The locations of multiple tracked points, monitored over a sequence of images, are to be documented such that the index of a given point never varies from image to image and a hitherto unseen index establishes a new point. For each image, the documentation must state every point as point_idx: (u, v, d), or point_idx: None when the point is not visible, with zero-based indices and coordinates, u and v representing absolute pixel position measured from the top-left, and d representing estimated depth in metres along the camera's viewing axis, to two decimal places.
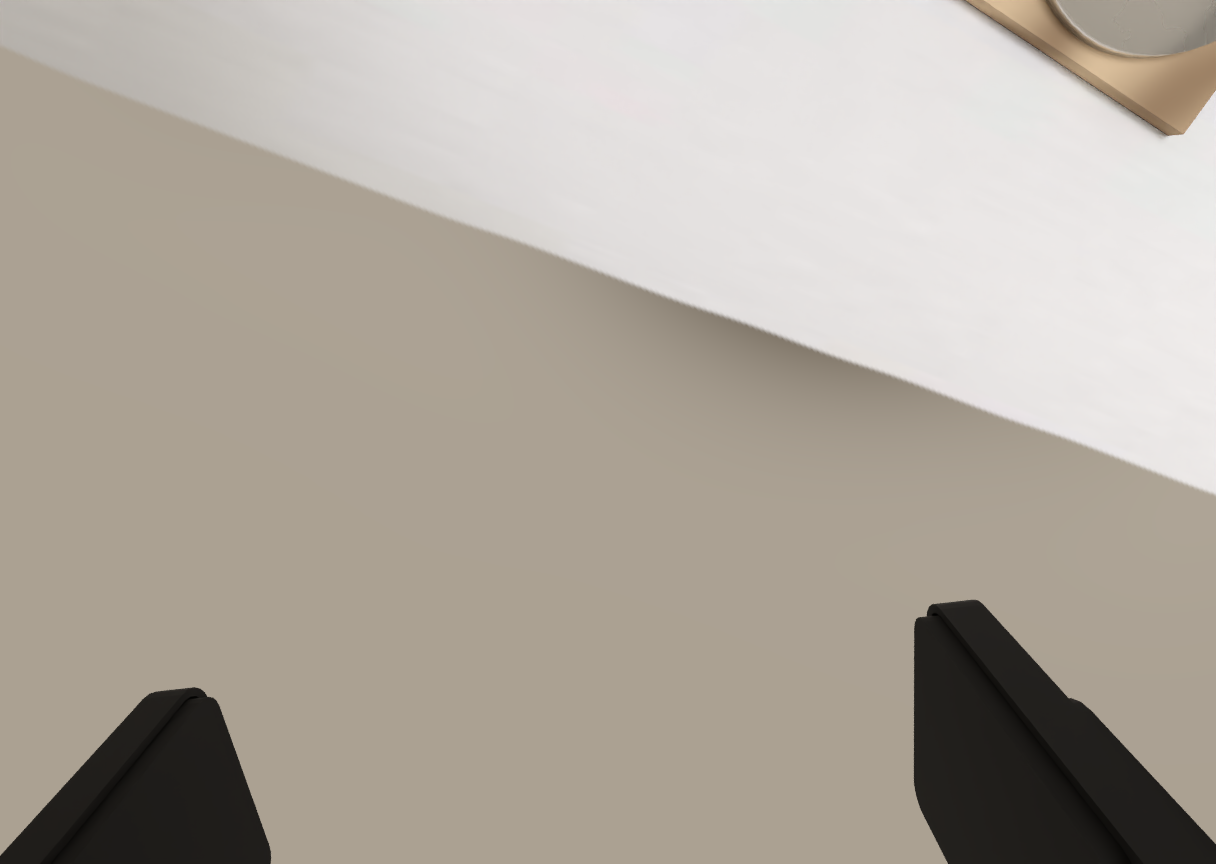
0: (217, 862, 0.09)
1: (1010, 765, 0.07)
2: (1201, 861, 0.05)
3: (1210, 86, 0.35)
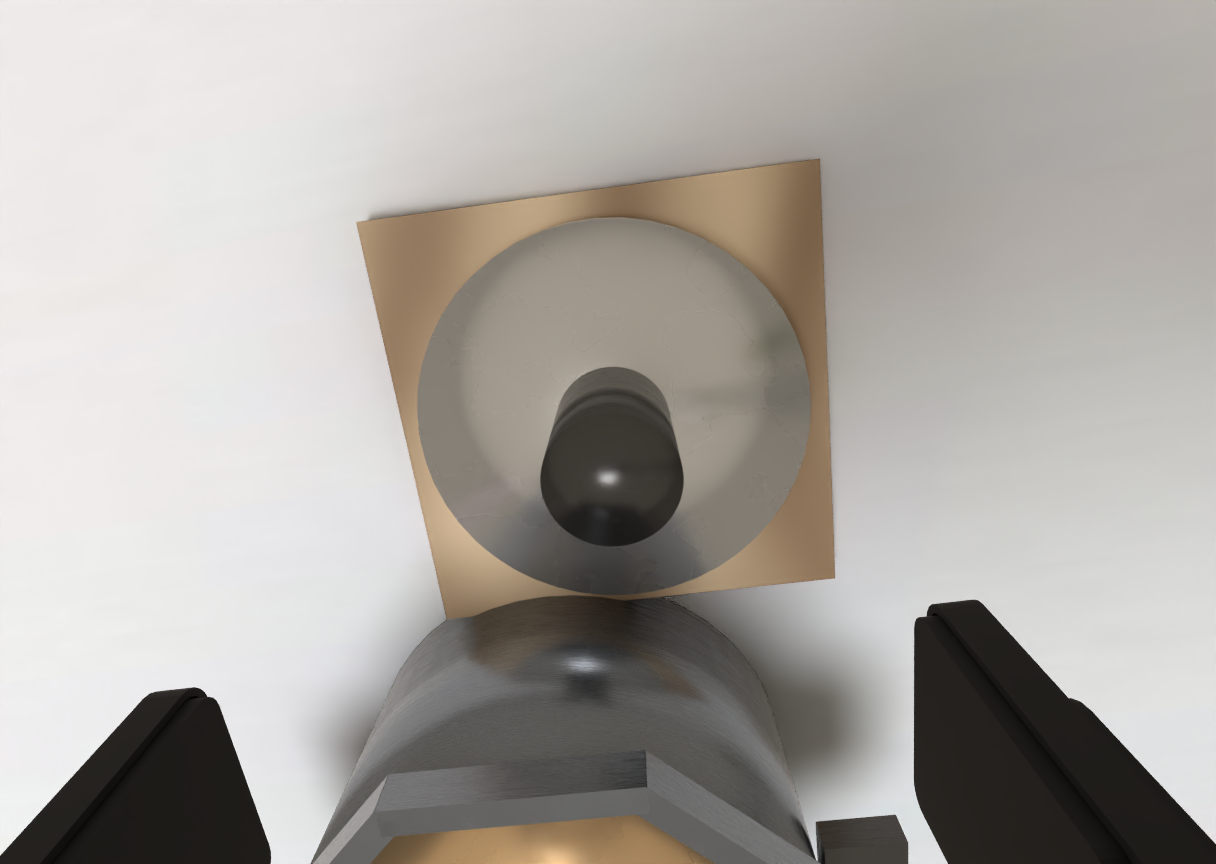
0: (217, 862, 0.09)
1: (1010, 765, 0.07)
2: (1201, 861, 0.05)
3: (382, 293, 0.23)
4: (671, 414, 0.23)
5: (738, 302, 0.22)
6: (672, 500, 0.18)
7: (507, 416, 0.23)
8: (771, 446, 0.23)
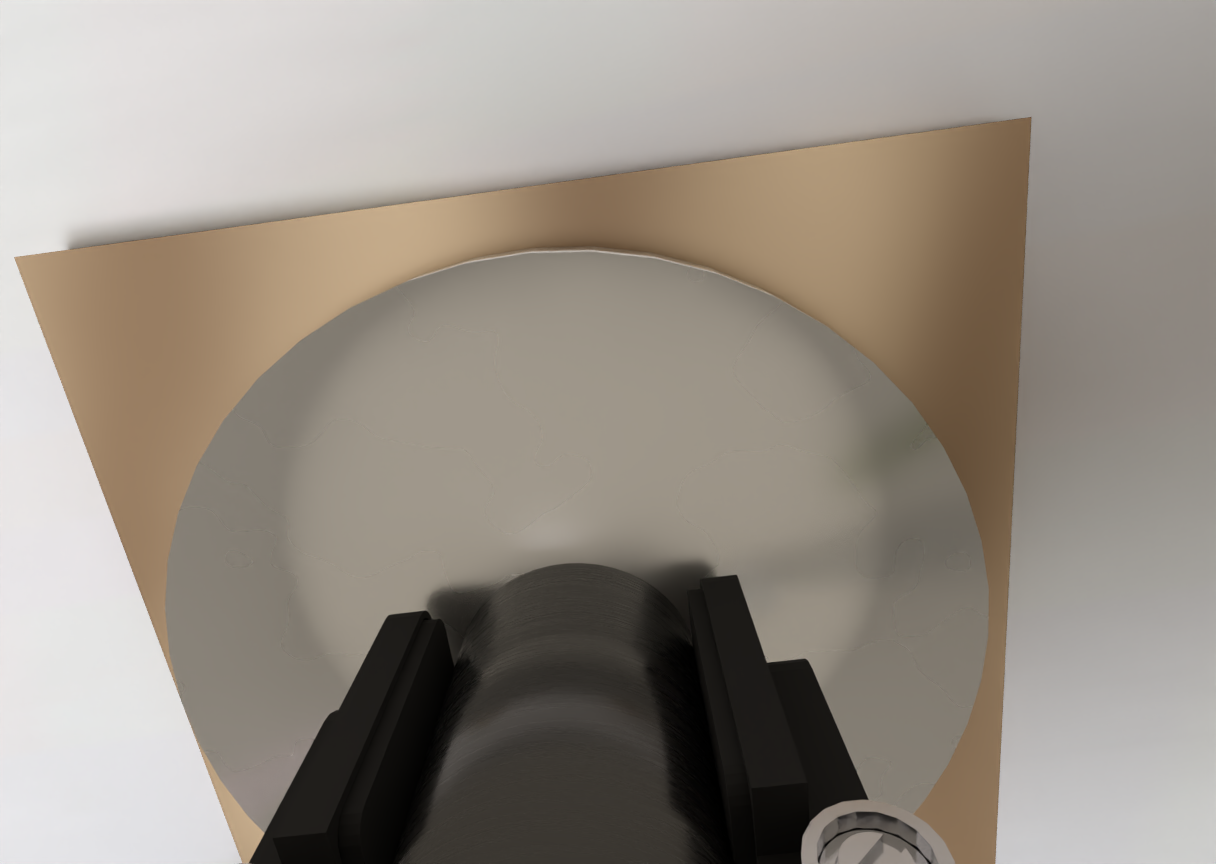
0: None
1: (709, 708, 0.08)
2: (789, 771, 0.07)
3: (92, 405, 0.11)
4: None
5: (847, 432, 0.10)
6: None
7: (360, 659, 0.11)
8: (902, 708, 0.11)
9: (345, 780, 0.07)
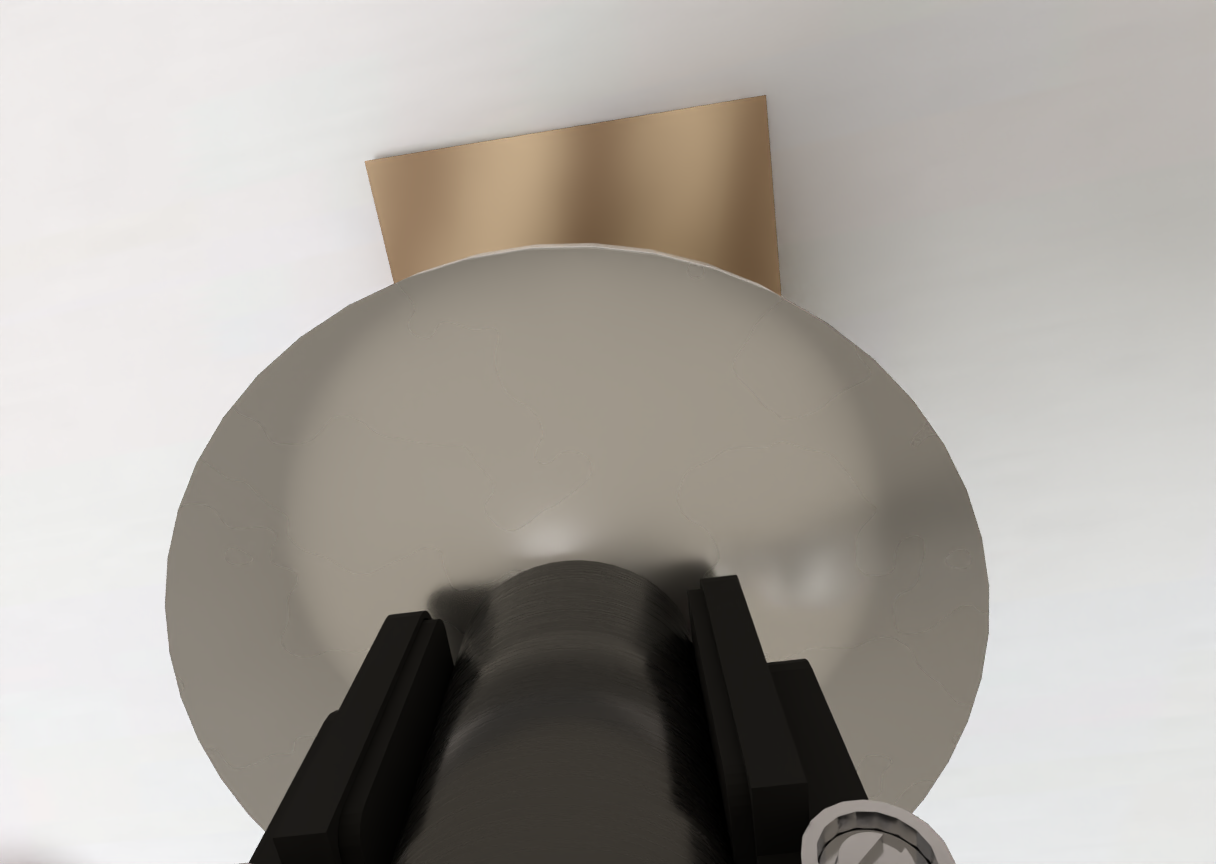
0: None
1: (709, 708, 0.08)
2: (789, 771, 0.07)
3: (389, 225, 0.26)
4: None
5: (847, 429, 0.10)
6: None
7: (359, 656, 0.11)
8: (902, 706, 0.11)
9: (345, 780, 0.07)
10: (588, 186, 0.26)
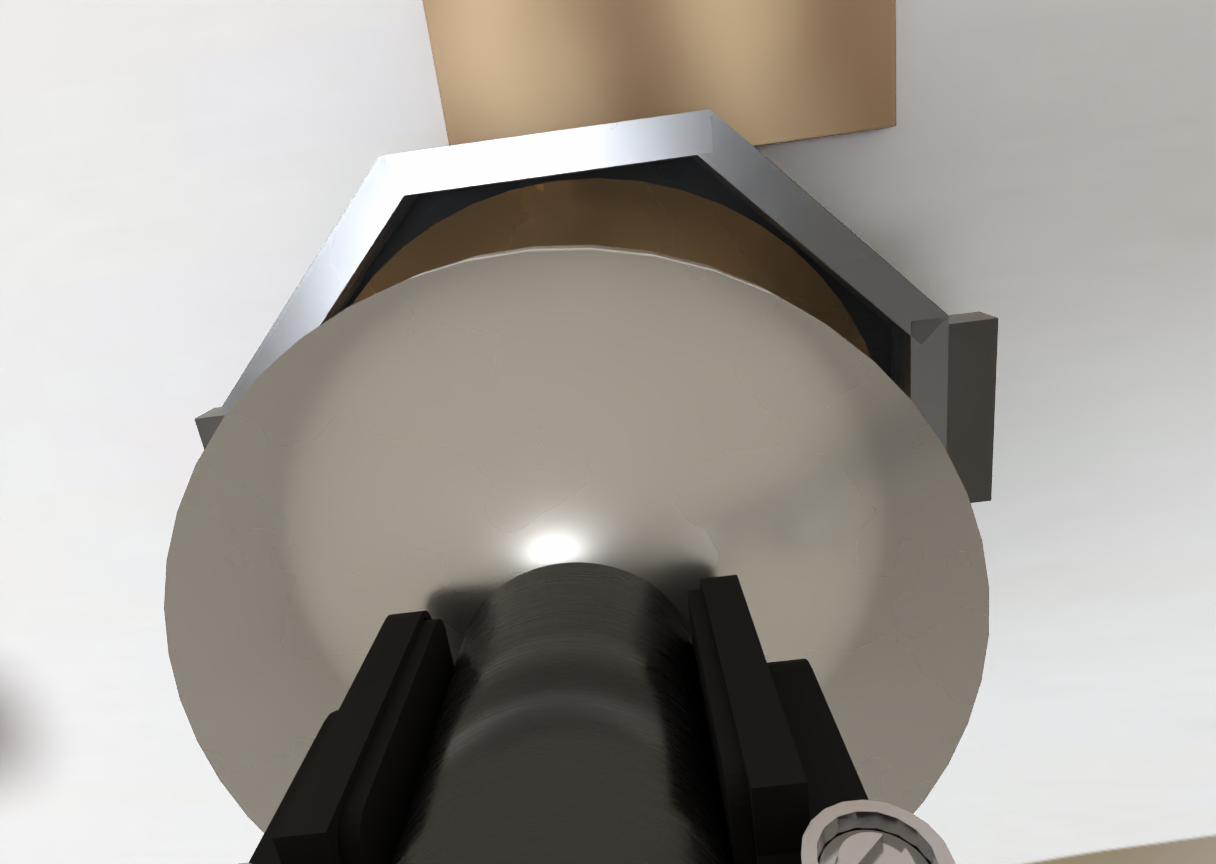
0: None
1: (709, 708, 0.08)
2: (789, 771, 0.07)
3: None
4: None
5: (847, 431, 0.10)
6: None
7: (359, 658, 0.11)
8: (902, 708, 0.11)
9: (345, 781, 0.07)
10: None
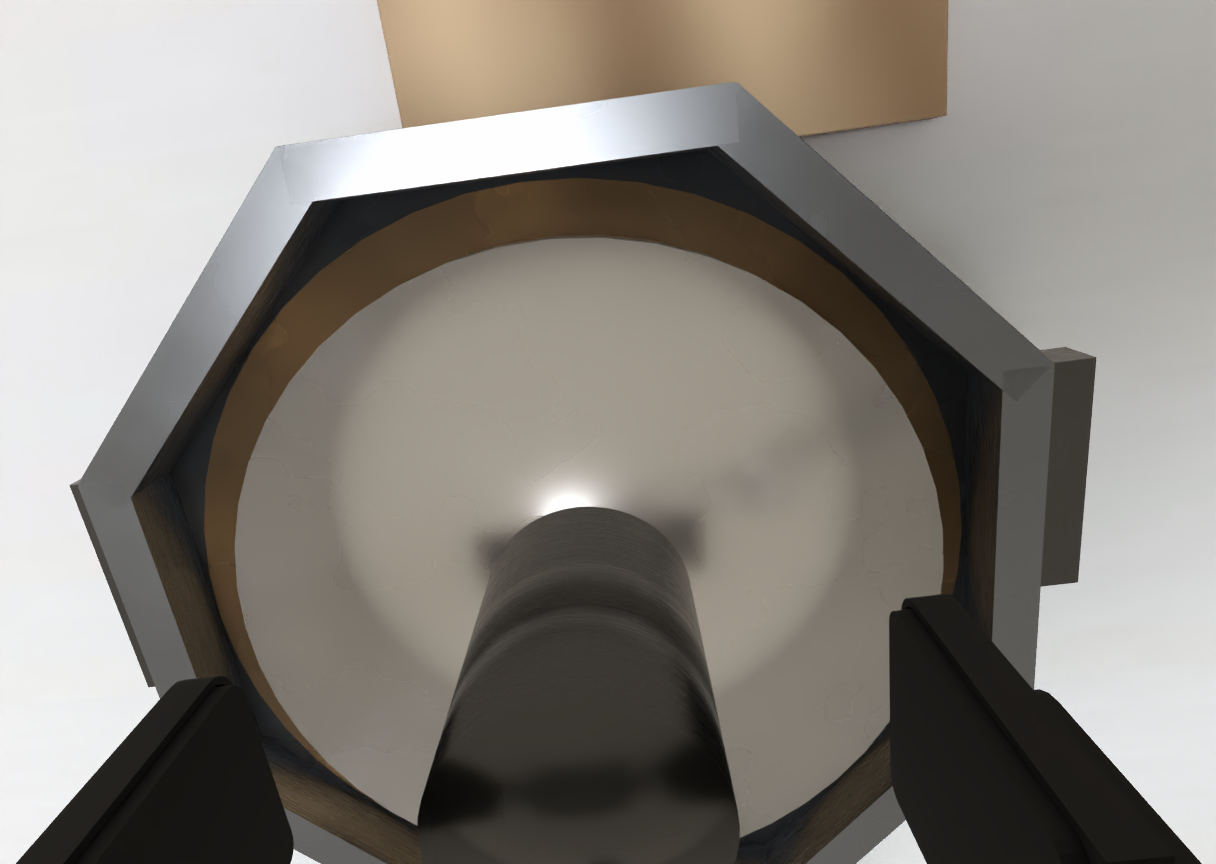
0: (244, 847, 0.09)
1: (974, 753, 0.07)
2: (1148, 842, 0.05)
3: None
4: (693, 585, 0.13)
5: (819, 392, 0.12)
6: None
7: (400, 592, 0.13)
8: (869, 636, 0.13)
9: None
10: None
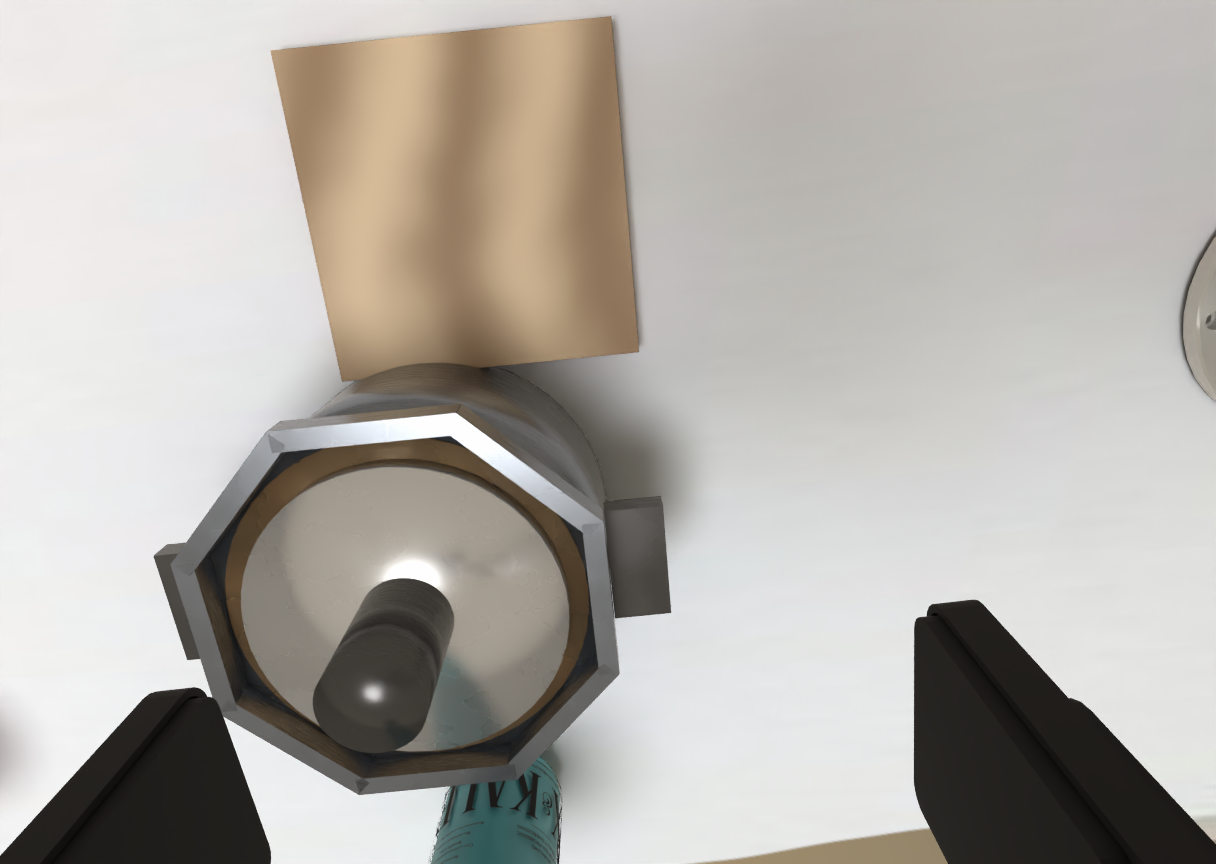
0: (217, 862, 0.09)
1: (1010, 765, 0.07)
2: (1201, 861, 0.05)
3: (290, 108, 0.31)
4: (454, 613, 0.28)
5: (503, 531, 0.27)
6: (419, 719, 0.23)
7: (318, 614, 0.28)
8: (539, 637, 0.28)
9: None
10: (462, 85, 0.30)
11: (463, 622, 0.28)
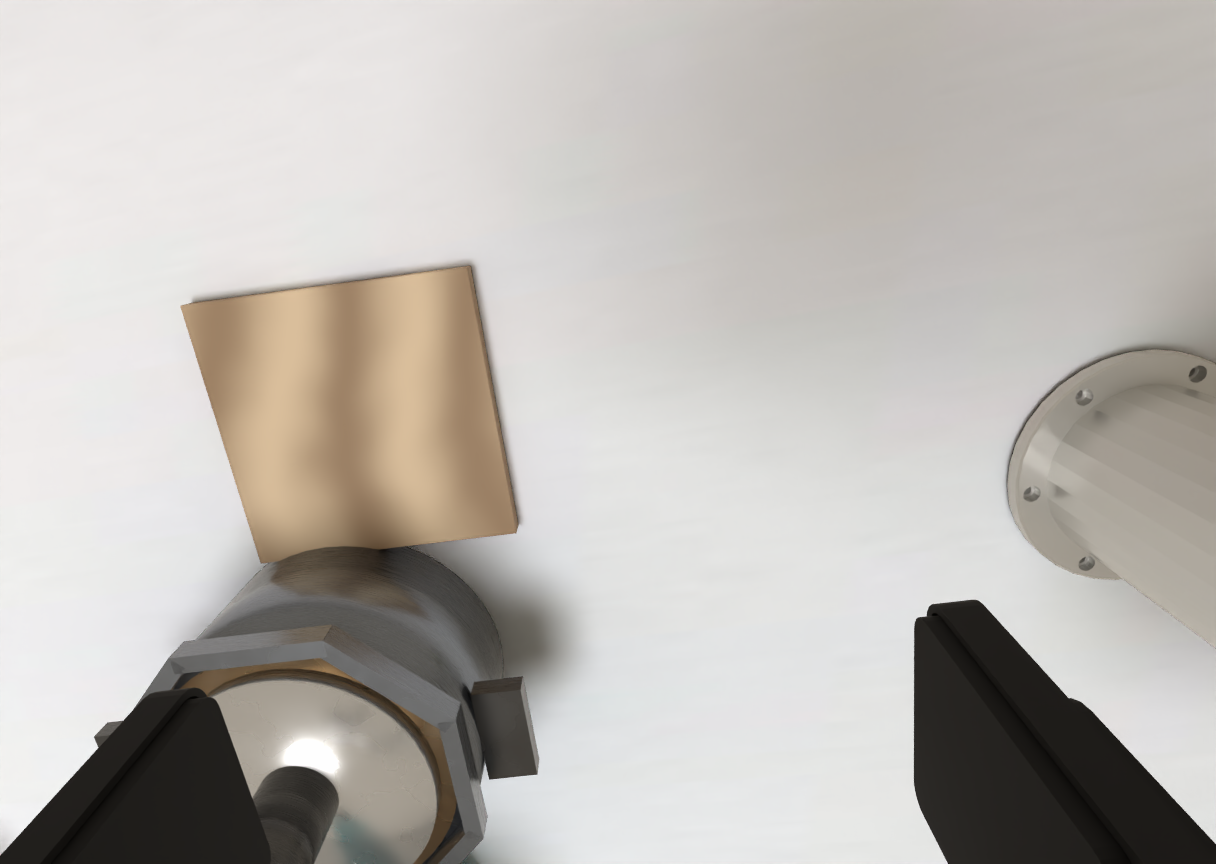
0: (217, 862, 0.09)
1: (1010, 765, 0.07)
2: (1201, 861, 0.05)
3: (200, 349, 0.36)
4: (338, 793, 0.33)
5: (372, 728, 0.32)
6: None
7: None
8: (411, 810, 0.33)
9: None
10: (344, 326, 0.35)
11: (346, 799, 0.33)
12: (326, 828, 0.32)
